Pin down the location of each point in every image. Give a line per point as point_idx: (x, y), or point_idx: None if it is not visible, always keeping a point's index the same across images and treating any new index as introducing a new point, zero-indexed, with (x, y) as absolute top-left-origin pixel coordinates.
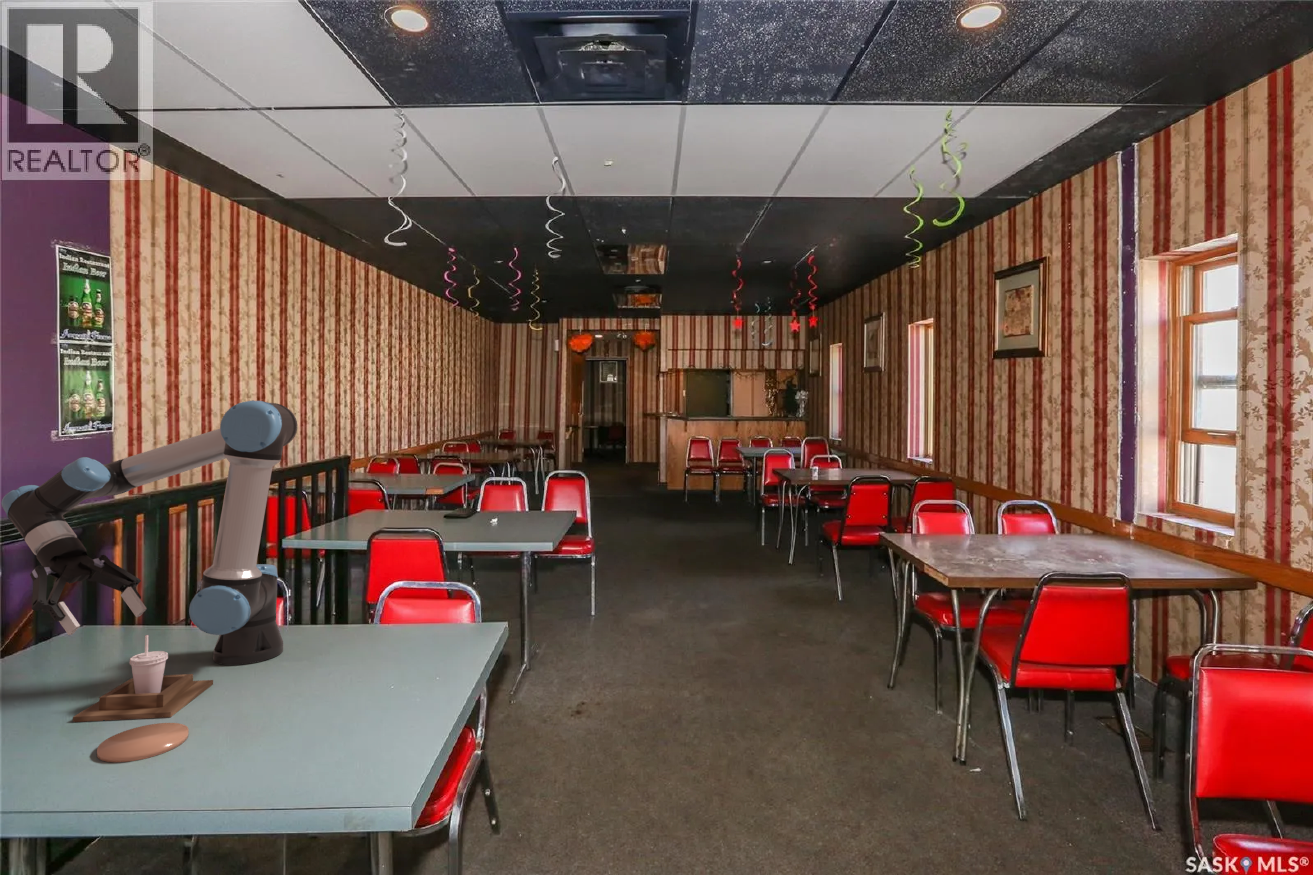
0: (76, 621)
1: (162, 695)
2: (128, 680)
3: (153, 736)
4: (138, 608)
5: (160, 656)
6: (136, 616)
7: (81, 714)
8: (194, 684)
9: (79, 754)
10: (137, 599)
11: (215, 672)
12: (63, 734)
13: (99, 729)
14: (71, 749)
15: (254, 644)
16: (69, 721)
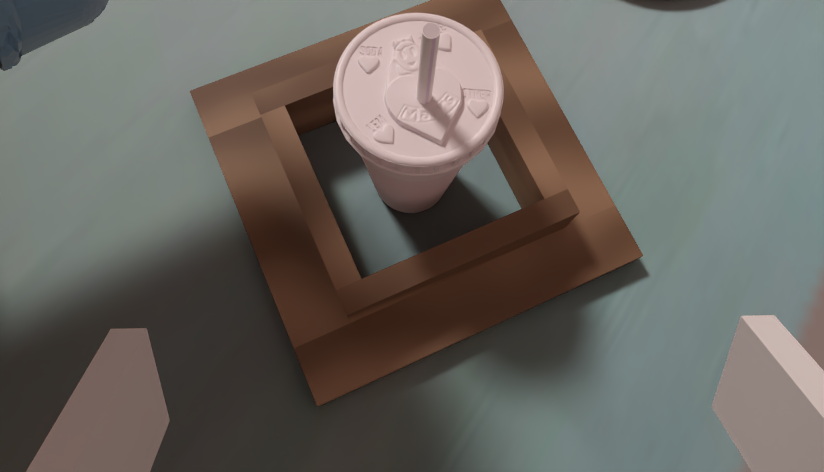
0: (776, 350)
1: (471, 13)
2: (397, 287)
3: None
4: (138, 395)
5: (401, 33)
6: (167, 419)
7: (616, 249)
8: (251, 119)
9: (763, 9)
10: (78, 432)
11: (65, 208)
12: (706, 188)
13: (634, 116)
14: (755, 60)
15: None
16: (634, 280)
